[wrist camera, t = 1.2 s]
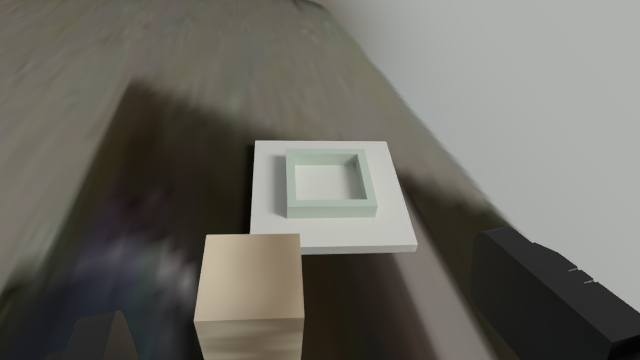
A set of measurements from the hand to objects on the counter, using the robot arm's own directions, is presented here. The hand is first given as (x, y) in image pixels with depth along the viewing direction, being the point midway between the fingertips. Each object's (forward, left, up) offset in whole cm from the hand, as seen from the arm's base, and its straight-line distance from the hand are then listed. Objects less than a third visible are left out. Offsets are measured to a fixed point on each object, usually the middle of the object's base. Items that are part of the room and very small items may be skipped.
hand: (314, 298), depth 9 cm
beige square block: (-6, +3, -20) cm, 21 cm away
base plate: (-14, +19, -20) cm, 31 cm away
